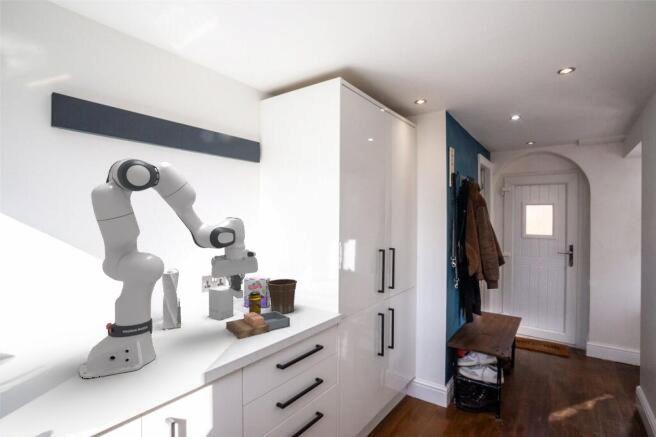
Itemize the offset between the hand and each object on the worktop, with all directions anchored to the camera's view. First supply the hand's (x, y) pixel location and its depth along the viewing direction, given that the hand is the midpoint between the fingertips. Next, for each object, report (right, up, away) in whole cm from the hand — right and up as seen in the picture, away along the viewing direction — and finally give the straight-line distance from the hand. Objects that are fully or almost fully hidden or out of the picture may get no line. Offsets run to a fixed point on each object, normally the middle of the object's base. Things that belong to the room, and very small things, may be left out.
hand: (235, 284), depth 143 cm
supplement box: (-14, -21, +23) cm, 35 cm away
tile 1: (+5, -18, +8) cm, 20 cm away
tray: (+14, -21, +11) cm, 28 cm away
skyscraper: (-32, -22, +7) cm, 39 cm away
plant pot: (+16, -21, +33) cm, 43 cm away
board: (+4, -21, +3) cm, 22 cm away
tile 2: (+9, -18, +3) cm, 20 cm away
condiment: (+2, -21, +25) cm, 33 cm away
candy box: (0, -21, +43) cm, 48 cm away
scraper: (0, -5, 0) cm, 5 cm away
